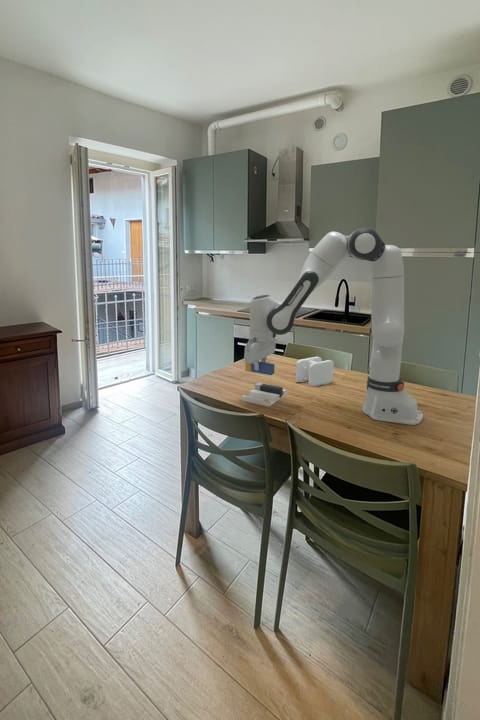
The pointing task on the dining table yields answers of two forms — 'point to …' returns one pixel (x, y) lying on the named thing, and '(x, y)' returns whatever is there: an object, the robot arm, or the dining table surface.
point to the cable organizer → (314, 371)
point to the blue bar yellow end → (261, 368)
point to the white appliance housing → (262, 397)
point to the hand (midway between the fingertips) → (259, 368)
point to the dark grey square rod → (269, 389)
